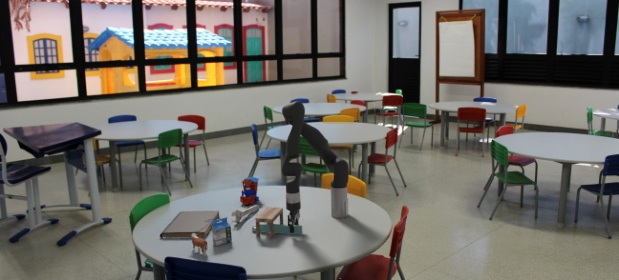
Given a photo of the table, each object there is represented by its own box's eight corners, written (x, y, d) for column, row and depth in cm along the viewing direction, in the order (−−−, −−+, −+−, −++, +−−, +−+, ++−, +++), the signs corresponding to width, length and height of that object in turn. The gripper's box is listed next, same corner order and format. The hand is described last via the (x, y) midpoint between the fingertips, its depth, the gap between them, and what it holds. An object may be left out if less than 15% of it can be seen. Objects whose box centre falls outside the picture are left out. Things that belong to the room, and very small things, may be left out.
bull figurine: (196, 246, 264) (194, 231, 263) (210, 254, 254) (209, 238, 253) (188, 249, 262) (186, 233, 260) (202, 257, 252) (200, 240, 250)
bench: (283, 226, 288) (282, 207, 286) (273, 238, 271) (272, 219, 269) (267, 225, 290) (266, 206, 288) (256, 237, 273) (255, 218, 271)
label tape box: (216, 246, 263) (214, 223, 261) (212, 244, 267) (211, 220, 264) (232, 242, 268) (230, 219, 266) (228, 239, 272) (226, 216, 269)
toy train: (260, 198, 339) (259, 175, 336) (254, 206, 323) (253, 182, 320) (244, 198, 340) (243, 175, 337) (238, 206, 324) (236, 182, 321)
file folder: (205, 231, 275) (159, 232, 276) (205, 238, 276) (160, 239, 277) (219, 210, 307) (178, 211, 309) (220, 216, 308) (179, 217, 309)
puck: (261, 229, 285) (261, 226, 284) (259, 232, 280) (259, 229, 280) (253, 229, 285) (252, 226, 285) (251, 232, 281) (251, 229, 281)
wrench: (258, 214, 318) (234, 225, 290) (256, 213, 319) (231, 225, 291) (258, 200, 317) (234, 211, 289) (256, 200, 318) (231, 210, 290)
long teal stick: (302, 233, 278) (302, 225, 277) (301, 234, 276) (301, 226, 275) (260, 231, 283) (260, 223, 282) (259, 232, 281) (259, 224, 280)
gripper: (290, 195, 282) (291, 224, 285) (282, 204, 268) (283, 234, 271) (303, 196, 280) (304, 225, 283) (296, 205, 266) (297, 235, 269)
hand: (294, 230), depth 277 cm, fingers open, 8 cm apart
